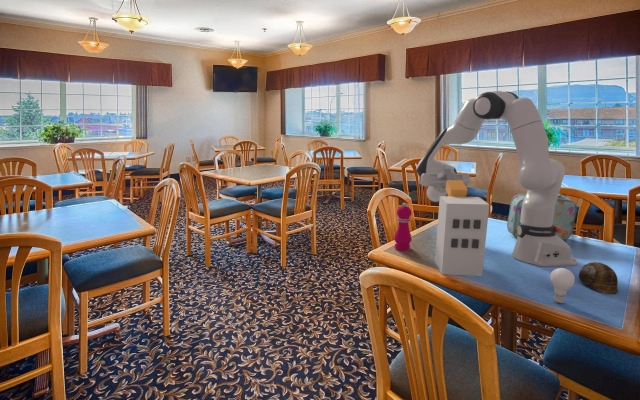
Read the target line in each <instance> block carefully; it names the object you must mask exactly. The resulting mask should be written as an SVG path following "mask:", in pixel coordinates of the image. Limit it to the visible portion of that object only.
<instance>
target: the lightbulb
mask: <svg viewBox="0 0 640 400" xmlns="http://www.w3.org/2000/svg"><path fill="white" fill-rule="evenodd" d="M575 280H576V277H575V276H574V274H573V272H572V271H571V270H569V268H568V269H567V268H564V267H558V268H555V269H553V270H552V271H551V273H550V275H549V281H550V283H551V285H552V287H553V292H554V296H553V301H555V303H557V304H563V303H565V297H566V294H568V293H567V292H568V291H569V290H570V289H571V288H572V287H573V286H574V284H575Z"/></svg>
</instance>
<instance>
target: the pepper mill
mask: <svg viewBox="0 0 640 400" xmlns="http://www.w3.org/2000/svg"><path fill="white" fill-rule="evenodd" d="M401 205H402V206H399V207H398V208H397V210H396V215H397V222H398V226H397V230H396V231H395V234H394V237H393V240H394V242H395V244H394V248H395V250H397V251H400V252H402V251H403V252H408V251H410V249H411V245H410V244H411V242H412V235H411V232H410V229H409V223H410V222H411V220H410V219H411V218H410V217H411V216H412V209H411V208H410V207H409V206H407V205H408V204H407V203H406V202H403V203H402V204H401Z"/></svg>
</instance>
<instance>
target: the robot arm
mask: <svg viewBox="0 0 640 400" xmlns="http://www.w3.org/2000/svg"><path fill="white" fill-rule="evenodd" d="M501 119H503V120H505V121H506V122H507V124H508V126H509V130H510V133H511V136H512V139H513V143H514V147H515V149H516V153H517V164H518V175H517V180H518V183H519V185H520V186H521V187H522V188H524V189H525V190H526V193H525V194H526V196H525V198H524V200H523V203H522V210H521V219H520V221H519V225H518V231H517V232H518V234H517V235H518V237H517V238H516V242H515V245H514V248H513V250H512V252H511V257H513V258H514V259H515V260H516V259H517V260H518V261H521V262H524V263H529V264H533V265H536V266H539V267H542V268H543V267H567V266H578V260H577V259H576V258H575V257H574V256H573V255H572V250H571V246H570V245H569V244H568V243H567V242H565V240H564V241H563V240H562V239H561V238H560V237H558V236H557V235H556V232H557V233H559V234H560V233H561V232H562V229H561V228H559V227H556V226H554V225H552V224H553V217H554V210H555V205H556V201H557V198H558V195H559V194H560V191H561V188H562V183H563V180H564V177H565V175H566V168H565V166H564V164H563V163H561V162H560V161H558V160H556V159H553V158H550V152H549V137H548V134H547V132H546V128H545V126H544V123H543V119H542V118H541V115H540V113H539V110H538V108H537V106H536V105H535V103H534V102H533V100H532V98H531V99H530V98H529V97H519V96H518V95H517V94H516V93H514V92H511V91H502V90H495V91H493V90H492V91H486V92H482V93H481V94H479V95H478V96H476V98H470V99H467V100H466V101H465V103H464V104H463V105H462V107H461V109H460V111H459V112H458V114H457V116H456V118H455V120H454V122H453V123H452V124H451V125H450V126H449V127H445V128H443V129H442V130H441V131H440V132H439V134H438V135H437V136H436V137H435V139H434V141H433V142H432V144H431V145H430V146H429V147H428V150H427V151H426V153H425V154H424V156H423V157H422V158H421V159H420V160H419V161H418V163H417V165H416V169H415V171H416V173H417V175H418V176H419V178H420V179H419V181H418V184H419V185H421V186H423V187H427V190H426V196H427V198H428V199H429V200H430V201H432V202H436V203H437V202H439V200H440V196H447V195H448V194H447V192H446V190H445V188H446V182H447V181H446V179H445V176H446V172H444V169H450V170H451V172H452V174H453V176H454V178H455V180H463V182H464V184H465V186H466V187H467V186H468V185H469V184H470V183H471V176H470V174H468V173H458V172H457V169H456V167H455V166H453V165H450V164H448V163H444V162H442V161H440V160H436V159H435V158H434V157H436V155H437V154H438V152H439V150H440V149H441V148H442V147H444V146H446V145H453V144H454V145H463V144H467V143H470V142H472V141H474V139H476V137H477V135H478V133H479V131H480V129H481V128H482V126H483V124H484V121H486V120H501Z"/></svg>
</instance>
